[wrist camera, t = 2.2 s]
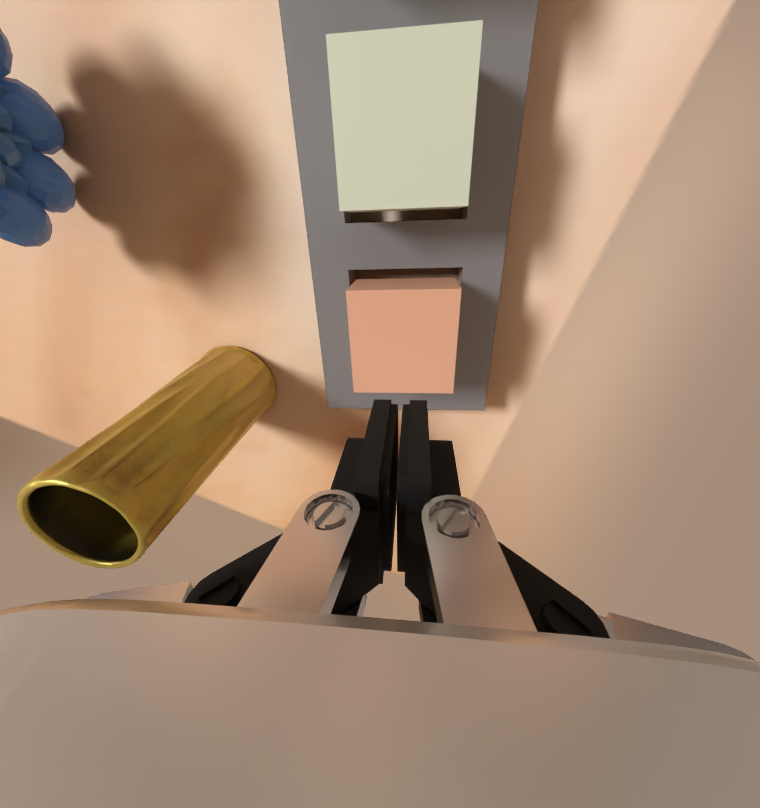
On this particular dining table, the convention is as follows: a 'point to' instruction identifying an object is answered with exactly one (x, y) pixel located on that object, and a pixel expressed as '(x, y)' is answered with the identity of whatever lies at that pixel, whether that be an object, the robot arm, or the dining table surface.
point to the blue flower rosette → (28, 161)
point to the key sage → (404, 115)
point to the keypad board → (410, 240)
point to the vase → (147, 462)
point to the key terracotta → (403, 334)
